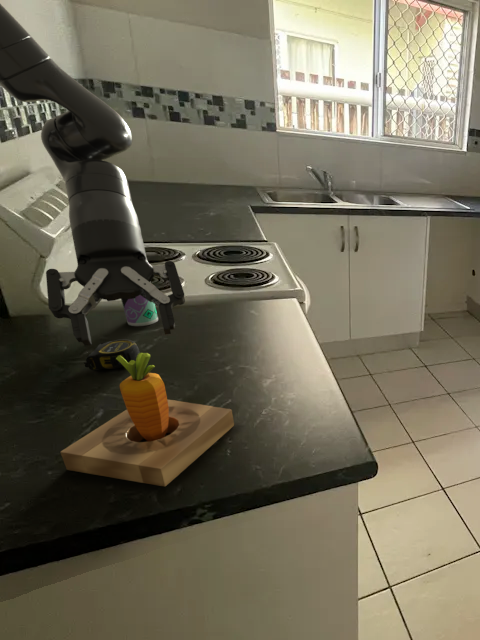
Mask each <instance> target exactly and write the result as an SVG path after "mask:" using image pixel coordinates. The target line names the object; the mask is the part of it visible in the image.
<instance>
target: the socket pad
mask: <svg viewBox="0 0 480 640" xmlns="http://www.w3.org/2000/svg"><path fill="white" fill-rule="evenodd" d="M167 401H168V407H169V419H168V428H167V432H166V434H168V435H165V437H164V438H161V439H158V440H154V441H151V442H148V441H142V440H145V439H144V438H143V436H142V435H141V434H140V433H139V431H138V430H137V428H136V427H135V425H134V423H133V421H132V419H131V417H130V415H129V413H128V411H127V409H125V410H124V411H122V412H120V413H119V414H117V415H115V416H113V418H110V420H108V421H106V422H104V423H103V424H101V425H100V426H98V427H97V428H95V429H93V430H92V431H90V432H89V433H87V434H86V435H84V436H83V437H81V438H79V439H78V440H76V441H75V442H73V443H72V444H70V445H68V446H67V447H66V448H64V449H62V450H61V451H60V455H61V458H62V461H63V463H64V466H65V469H66V470H67V471H72V472H79V473H84V474H89V475H95V476H99V477H100V476H101V477H106V478H112V479H117V480H118V479H119V480H124V481H130V482H136V483H140V484H147V485H153V486H158V487H167V486H168V485H169V484H170V483H171V482H172V481H173V480H175V479H176V478H177V477H178V476H179V475H181V473H183V472H184V471H185V470H186V469H187V468H188V467H190V465H192V464H193V463H194V462H195V461H196V460H197V459H198V458H199V457H200V456H202V455H203V454H204V453H206V451H207V450H208V449H210V448H211V447H212V446H213V445H214V444H215V443H217V441H219V439H221V438H222V437H224V435H226V434H227V433H228V432H229V431H230V430H231V429H232V428H233V427H234V426H235V420H234V416H233V410H232V409H230V408H225V407H218V406H213V405H207V404H200V403H194V402H187V401H180V400H174V399H168V398H167Z"/></svg>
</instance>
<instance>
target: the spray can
mask: <svg viewBox="0 0 480 640" xmlns="http://www.w3.org/2000/svg"><path fill="white" fill-rule="evenodd" d="M120 300H121V304H122V309H123V312H124V315H125V319H126V322H127V325H128V326H131V327H144V326H149V325H153V324H155V323H157V322H158V321H159V316H158V312H157V308H156V304H154V303H153V302H150V301H148V300H147V299H145V298H144V297H142V296H141V295H139V296H137V297H136V298H134V299H123V298H121V299H120Z"/></svg>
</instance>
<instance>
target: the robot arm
mask: <svg viewBox="0 0 480 640" xmlns="http://www.w3.org/2000/svg"><path fill="white" fill-rule="evenodd" d="M0 86H1V87H2V88H3V90H5V91H6V92H7V93H8V94H9V95H11V97H13V98H14V99H16V100H17V101H20V102H22V103H34V102H41V101H49V102H53V103H54V104H57V105H59V106H60V107H62V108H64V109H66V110H68V111H65V112H63V113H61V114H59V115H56V116H53V117H52V118H49V119H48V120H46V121H45V123H44V124H43V125H42V128H41V132H40V140H41V143H42V145H43V147H44V149H45V150H46V152H47V153H48V155H49V156H50V158H51V160H52V161H53V163H54V165H55V167H56V168H57V170H58V172H59V174H60V175H61V177H62V178H63V180H64V184H65V190H66V194H67V200H68V219H69V225H70V230H71V235H72V242H73V246H74V251H75V258H76V262H77V263H76V264H77V266H76V269H75V270H74V271H61V272H59V270H58V269H56V268H49V269H47V270H46V271H45V276H46V277H45V279H46V291H47V306H48V309H49V311H50V312H51V313H52V315H53V317H55V318H56V319H69V320H70V323H71V327H72V328H71V329H72V333H73V334H72V335H73V336H74V338H75V339H76V341H77V342H78V343H82V344H83V345H84V347H86V346H92V345H93V343H92V337H91V332H90V326H89V321H88V318H87V316H88V315H89V313H90V312H91V311H92V310H93V309H95V308H96V307H97V306H98V305H99V304H100V302H101V301H102V300H105V301H106V302H112V301H113V302H114V301H115V302H116V301H118V300H121V298H123V299H134V298H136V297H137V296H139V295H141V296H142V297H144V298H145V299H147V300H148V301H150V302H153V303H154V304H155V306H157V307H158V310H159V314H160V318H161V322H162V328H163V332H164V335H171V333H172V332H171V330H175V328H176V323H175V322H176V321H175V317H174V313H173V308H174V307H176V306H178V305H179V306H182V305H184V304H186V299H185V292H184V289H183V286H182V281H181V279H180V276H179V273H178V269H177V267H176V264H175V262H174V261H173V260H167V261H165V262H164V264H159V265H151V264H150V262H149V261H148V257H147V253H146V247H145V244H144V239H143V235H142V227H141V226H140V222H139V221H140V220H139V217H138V215H137V212H136V210H135V207H134V204H133V199H132V195H131V190H130V186H129V182H128V178H127V176H126V174H125V173H124V171H123V170H122V169H121V168H120V167H119V166H117V165H116V164H114V163H112V162H109V161H107V159H110V158H113V157H115V156H117V155H120V154H122V153H124V152H126V151H127V150H129V149H130V148H131V146H132V144H133V135H132V131H131V129H130V127H129V125H128V123H127V122H126V121H125V119H124V118H123V117H122V115H120V114H119V113H118V112H117V110H115V109H114V108H113V107H111V106H110V105H109V104H108V103H107V102H105V101H104V100H102V99H101V98H100V97H98V96H97V95H95V94H94V93H93V92H91V91H90V90H88V89H87V88H86V87H85V86H84V85H82V84H81V83H80V82H79V81H77V80H76V79H75V78H73V77H72V76H71V75H69V74H68V73H67V72H66V71H65V70H63V69H62V68H61V67H60V66H59V65H58V64H57V63H56V62H55V61H54V60H53V58H51V57H50V55H49V54H48V53H47V52H46V50H45V49H44V48H42V47H41V45H40V44H39V43H38V42H37V41H36V40H35V39H34V38H33V37H32V35H31V34H29V32H28V31H27V30H26V29H25V28H24V27H23V26H22V24H21V23H19V22H18V21H17V20H16V18H15V17H14V16H13V15H12V14H11V13H10V12H9V11H8V10H7V9H6V7H4V6H3V5H2V4H1V3H0ZM155 275H156V276H159V277H160V279H161V280H163V281H168V283H169V286H170V290H171V293H170V294H168V295H167V294H165V293H164V292H162V291H161V290H159V289H158V287H157V286H156V285H154V284H153V283H152V282H151V281H153V279H154V277H155ZM75 282H77V283H78V284H79V285H81V286H82V289H81V290H80V291H79V293H78V295H77V297H76V299H74V301H73V302H72V303H71V304H70V305H69V304H66V296H65V294H66V293H65V290H69V289H70V288H71V287H72V284H73V283H75Z"/></svg>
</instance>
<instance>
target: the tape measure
mask: <svg viewBox="0 0 480 640" xmlns="http://www.w3.org/2000/svg"><path fill="white" fill-rule="evenodd" d="M139 353H140V349H139V347H138V344H137V343H136V342H135V341H134V340H132V339H116V340H110V341H103V342H101V343H99V344H98V345H97V346H96V347H95V348H94V350H93V351H92V352H91V353H90V354H88V355H87V357H86V359H85V361H83V365H84V367H85V368H88V369H90V370H91V371H98V370H102V369H104V370H115V369H120V368H121V369H122V368H125V367H124V366H123V365H122V364H121V363H120V362H119V361H118V360H117V359H116V358H117V357H118V356H122V357H123V358H124V359H125V360H126V361H127V362H128V363H129V362H130V361H131V360H134V361H136V358H137V355H138V354H139Z"/></svg>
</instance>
